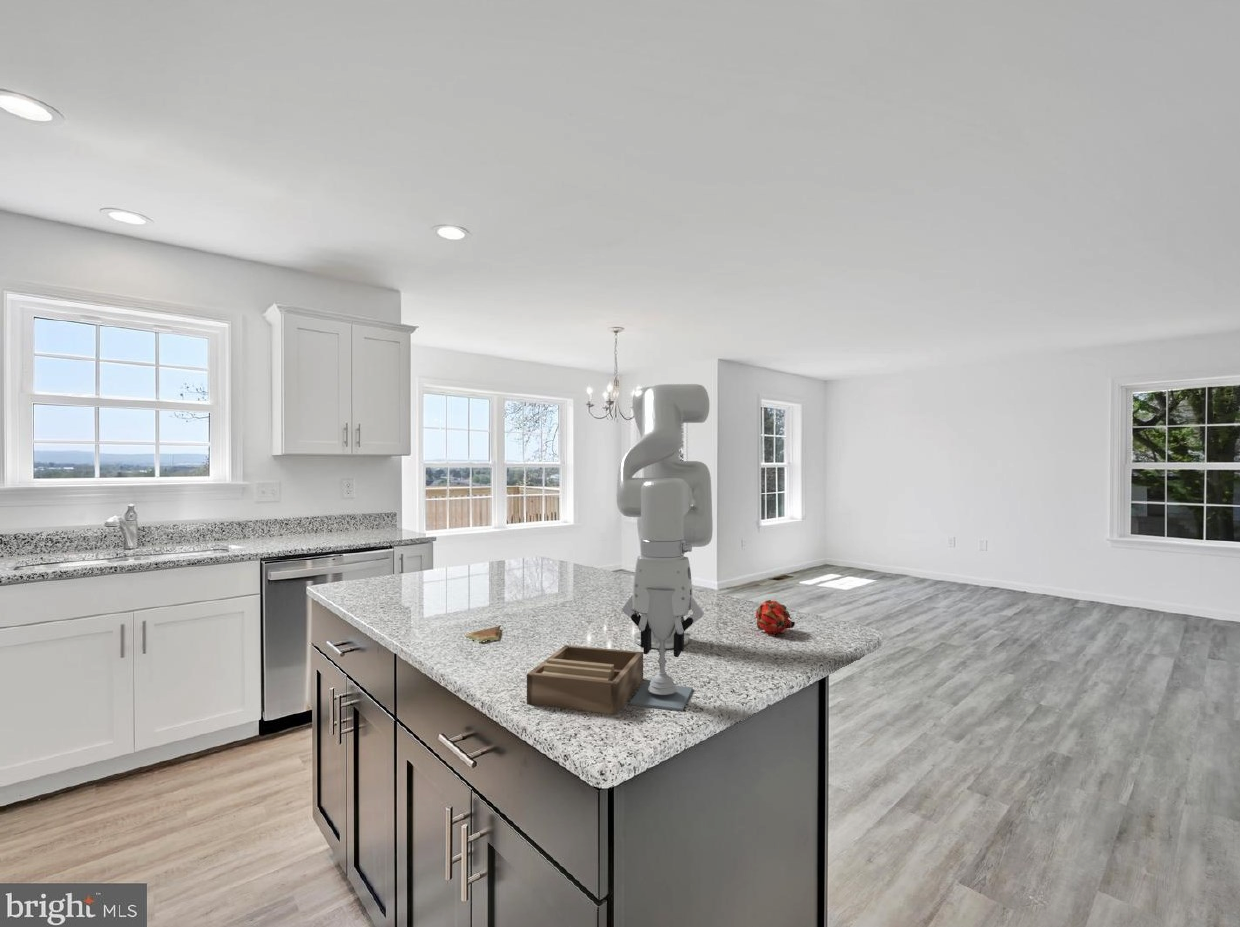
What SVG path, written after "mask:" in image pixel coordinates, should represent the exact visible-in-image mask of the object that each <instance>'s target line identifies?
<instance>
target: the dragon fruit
mask: <svg viewBox="0 0 1240 927" xmlns="http://www.w3.org/2000/svg"><path fill="white" fill-rule="evenodd" d="M755 611H756V612H755V619H756V626H757V629H758V630H759V631H764V632H765V634H767V635H768V634H770V635H772V636H771V637H777V635H775V634H777V633H778V632H779V633H778V634H785V632H787V629H793V628H794V627H795V624H796V622H795V621H791V620H793V618H792V617H791V615H790V612H789V611H787V606H785V604H782V603H779V602H778V601H777V600H771V599H768V600H765V601H764V602H762V604H760V605H759V606H758V608H757V609H756V610H755ZM770 635H769V636H770Z"/></svg>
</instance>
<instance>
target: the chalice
mask: <svg viewBox="0 0 1240 927" xmlns="http://www.w3.org/2000/svg"><path fill="white" fill-rule="evenodd" d="M646 590H647V591H648V593H649V607H648V613H647V614H646V615H647V620H648V623H649V626H650V628H651V630H652V633H653V635H654V637H655V638H657V639H659V642H660V646H659V649H658V648H657V649H658V650H657V652H658V654H659V655H658V656H659V658H658V660H656V661H657V663H658V665H659V669H658V672H657V673H655V674H654V675H653V676H652V677H651V681H650V682H649V683H650V686H649V687H648V690H649V691H650V692H651V693H654V694H660V695H667V694H672V693H674V692H676V691H677V689H676V687H675V686H676V685H675V682H674V679H673V678H672V676H671V675H670V674H669V673H667V672H666V668H665V667H666V664H667V663H668V660H667V659H666V653H667V652H668V651H667V649H665V640H666V639H669V638H670V636H671V634H672V632H673V630H674V628H675V623H674V622H675V619H676V616H674V615H673V608H672V597H671V596H672V594H673V593H674V591H675V590H668V591H662V590H651V589H647V588H646Z"/></svg>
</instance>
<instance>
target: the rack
mask: <svg viewBox="0 0 1240 927" xmlns="http://www.w3.org/2000/svg"><path fill="white" fill-rule="evenodd" d="M549 658H552V659H563V660H573V661H583V662H593V663H604V664H614V680H613V681H608V680H599V679H589V678H580V677H570V676H561V675H552V674H542V672H543V671H544V665H545V664H546V663H547V660H548V659H549ZM643 680H644V653H643V651H634V650H623V649H621V650H620V649H613V648H602V647H600V648H599V647H591V646H590V647H589V646H578V645H570V644H569V645H567V644H565V645H564V646H562V647H561V648H560V649H558V650H557V651H555V652H554V653H553V654H551V655H550V656H549V657H548V658H546V659H544V660H543V661H542V662H541V663H539V664H538V665H537V666H536V667H534V668H533V669H532V670H530V671H529V672H527V673H526V704H527V705H536V706H543V707H550V708H560V709H567V710H575V711H576V710H577V711H582V712H583V711H584V712H591V713H600V714H608V715H615V716H616V715H618V714H619V712H620V711H621V709H622V708H623V707H624V705H625V704H626V702H627V701H628V700H629V699H630V697H631V696H632V694H633V693H634V692H635V690H636V689H637V688H638V686H639V685H640V684H641V683H642V681H643Z"/></svg>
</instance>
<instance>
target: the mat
mask: <svg viewBox="0 0 1240 927" xmlns="http://www.w3.org/2000/svg"><path fill="white" fill-rule="evenodd" d="M649 686H650V682H648V681H647V682H643V684H642V685H641V687H639V689H638V691H637V692H636V694H635V695H634V696H633V698H632V699H631V700H630V701H629V706H636V707H644V708H645V707H646V708H653V709H654V708H655V709H662V710H671V711H678V712H679V711H680V712H684V709H685V707H686V704H687V703H688V701H687V700H689V699H690V696H691V694H692V692H693V690H694V689H693V687H692V686H684V685H675V687H676V689H677V691H676V692H674V693H672V694H667V695H660V694H654V693H651V692H650V691H649V690H648V687H649Z"/></svg>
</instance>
